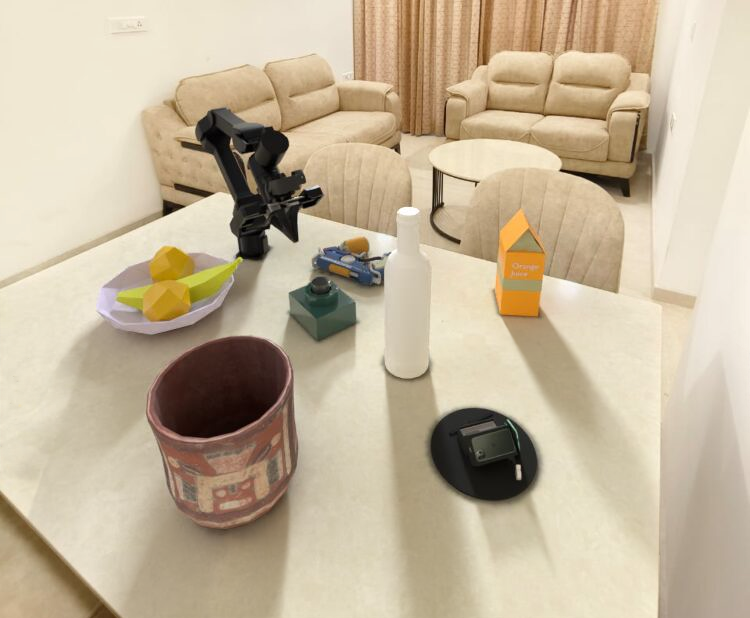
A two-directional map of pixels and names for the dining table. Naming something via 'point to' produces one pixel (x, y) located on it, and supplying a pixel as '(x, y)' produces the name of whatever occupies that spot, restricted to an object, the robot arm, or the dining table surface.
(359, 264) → the blue toy blaster
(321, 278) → the dark grey button cap
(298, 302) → the button housing
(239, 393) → the pottery
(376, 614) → the dining table surface
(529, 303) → the orange juice
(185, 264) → the fruit bowl
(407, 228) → the bottle
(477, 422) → the black round electronic device
